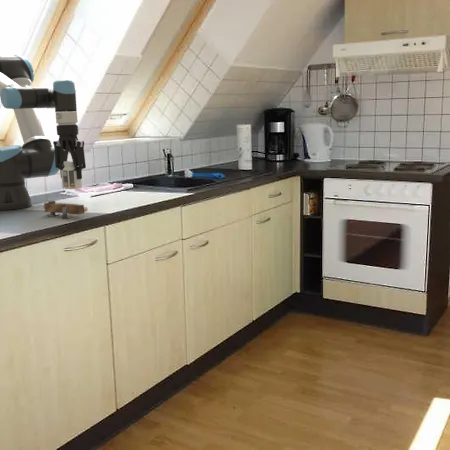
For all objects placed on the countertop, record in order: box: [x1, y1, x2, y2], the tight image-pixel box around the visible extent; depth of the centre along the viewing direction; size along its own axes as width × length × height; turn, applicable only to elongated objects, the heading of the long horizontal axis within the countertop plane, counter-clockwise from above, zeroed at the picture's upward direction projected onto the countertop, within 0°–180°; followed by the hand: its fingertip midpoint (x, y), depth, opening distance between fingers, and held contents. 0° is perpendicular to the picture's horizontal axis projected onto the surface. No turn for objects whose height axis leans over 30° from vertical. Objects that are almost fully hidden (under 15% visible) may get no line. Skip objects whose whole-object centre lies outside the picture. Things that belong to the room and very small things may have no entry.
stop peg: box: [61, 207, 69, 220], centre depth 203 cm, size 2×2×4 cm
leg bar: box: [43, 200, 85, 216], centre depth 207 cm, size 16×2×4 cm, turn 63°
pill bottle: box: [63, 160, 75, 190], centre depth 215 cm, size 6×6×10 cm
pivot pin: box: [46, 212, 60, 217], centre depth 210 cm, size 4×4×1 cm
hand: (72, 187), depth 216 cm, fingers closed on pill bottle, 6 cm apart
